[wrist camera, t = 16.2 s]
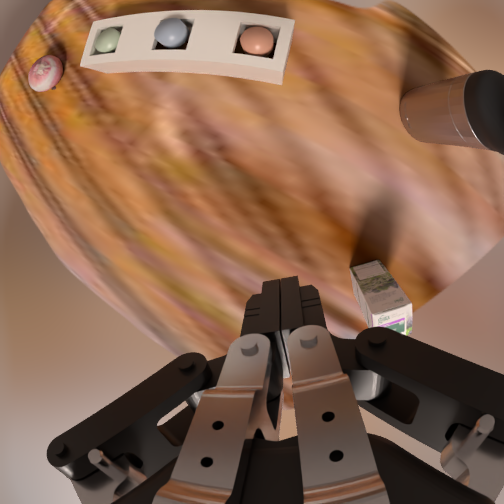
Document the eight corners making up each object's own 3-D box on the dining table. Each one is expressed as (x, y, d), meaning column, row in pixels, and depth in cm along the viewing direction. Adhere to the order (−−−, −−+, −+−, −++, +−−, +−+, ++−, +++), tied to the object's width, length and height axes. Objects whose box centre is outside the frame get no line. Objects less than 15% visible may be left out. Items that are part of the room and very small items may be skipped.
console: (291, 40, 31) (295, 20, 24) (281, 85, 34) (283, 71, 27) (118, 34, 31) (93, 21, 24) (107, 73, 34) (79, 66, 27)
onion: (75, 68, 34) (54, 73, 29) (54, 95, 37) (33, 104, 32) (56, 46, 30) (34, 50, 25) (36, 74, 33) (15, 81, 27)
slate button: (192, 24, 26) (187, 17, 23) (185, 48, 27) (179, 42, 25) (165, 24, 26) (158, 18, 23) (158, 48, 27) (150, 43, 25)
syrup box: (353, 294, 46) (375, 348, 33) (348, 266, 44) (373, 316, 31) (382, 286, 45) (412, 336, 32) (379, 257, 43) (413, 302, 30)
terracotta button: (276, 36, 27) (275, 29, 25) (270, 60, 29) (269, 54, 26) (246, 31, 27) (243, 24, 25) (239, 56, 29) (237, 50, 26)
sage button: (128, 31, 27) (120, 26, 25) (121, 53, 28) (112, 49, 26) (107, 34, 27) (99, 30, 25) (101, 55, 28) (92, 52, 26)
